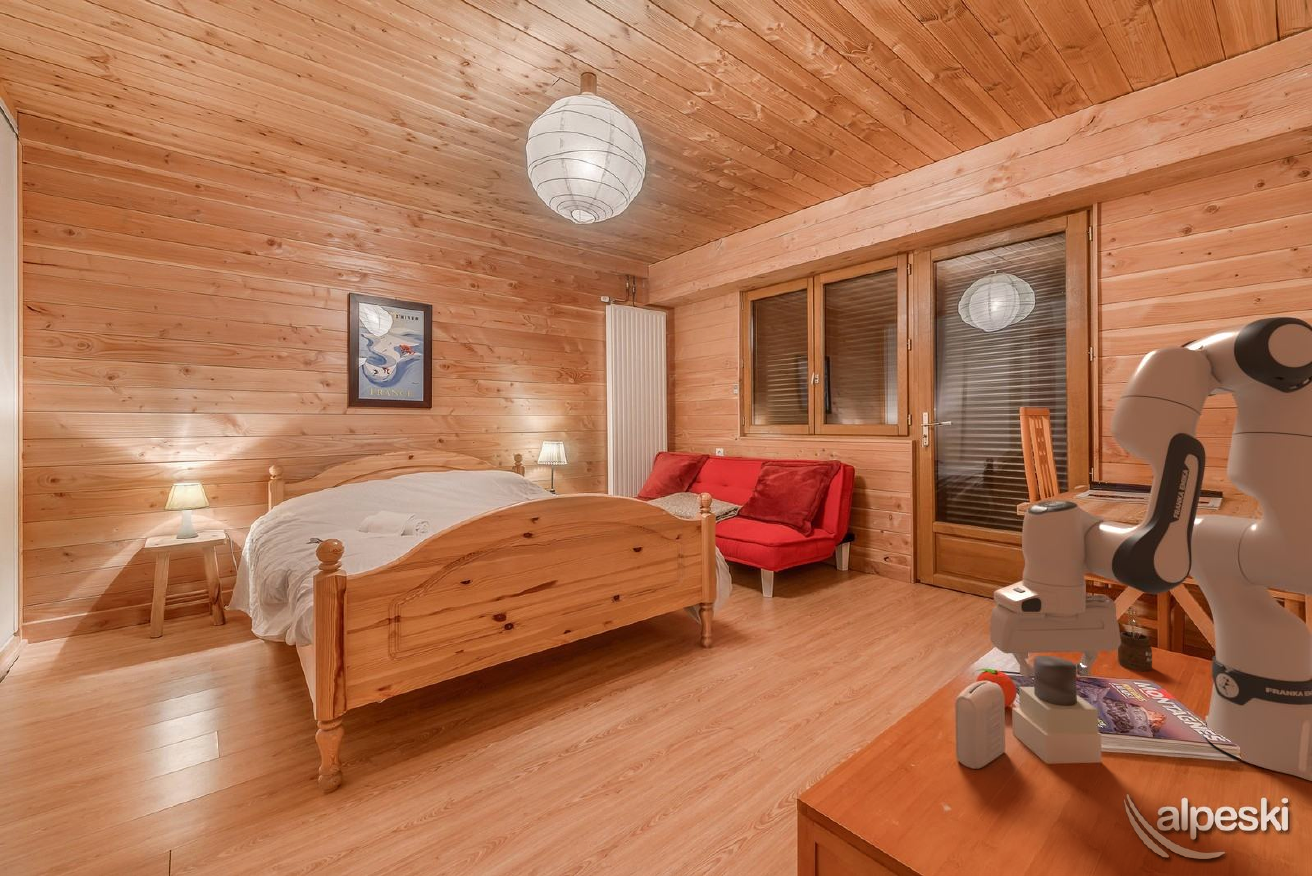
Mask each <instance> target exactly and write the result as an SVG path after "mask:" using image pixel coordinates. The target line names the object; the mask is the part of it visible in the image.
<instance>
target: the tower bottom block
mask: <svg viewBox="0 0 1312 876" xmlns="http://www.w3.org/2000/svg"><path fill="white" fill-rule="evenodd" d="M1011 714H1012V716H1011V717H1012V734H1013V735H1014V736H1015V737H1016V738H1017V739H1018V740H1019V741H1020V742H1021V743H1022V744H1024V745H1025V746H1026V747H1027V748H1029V750H1030V751H1032V752H1033V753H1034V754H1035V755H1037V757H1039V758H1040V759H1041V761H1042V762H1044V763H1045V764H1047V765H1048V764H1086V763H1087V764H1091V763H1092V764H1093V763H1095V764H1097V763H1102V733H1100V732H1099V731H1098V733H1047V732H1046V731H1045V730H1044V729H1043V728H1041V727H1040V726H1039V725H1038V724H1037V723H1036V722H1034V721H1033V720H1032V719H1031V718H1030V717H1028V716H1027V715H1026V714H1025V713H1024V712H1023V711H1022V710H1020V707H1012V708H1011Z"/></svg>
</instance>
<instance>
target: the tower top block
mask: <svg viewBox="0 0 1312 876" xmlns="http://www.w3.org/2000/svg"><path fill="white" fill-rule="evenodd" d="M1018 690H1019V691H1018V694H1019V696H1018V697H1019V700H1018V701H1019V708H1020V710H1022V711H1023V712H1024V713H1025V714H1026V715H1027V716H1028V717H1030V718H1031V719H1032V720H1033V721H1034V722H1036V723H1037V724H1038V725H1039V726H1040V727H1041V728H1043V729H1044V730H1045V731H1046V732H1047V733H1098V732H1099V709H1098V708H1096V707H1095V706H1094V705H1092V704H1091V703H1090V702H1088V701H1087V700H1085V699H1083V698H1082V697H1081V696H1080V695H1078V694H1077V703H1076V704H1075V705H1072V706H1060V705H1054V704H1050V703H1047V702H1045V701H1042V700H1040V699H1039V698H1037V697H1036V696H1035V694H1034V686H1019V687H1018Z"/></svg>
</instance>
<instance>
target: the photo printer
mask: <svg viewBox="0 0 1312 876" xmlns="http://www.w3.org/2000/svg"><path fill="white" fill-rule="evenodd" d="M954 705H955V706H954V709H955V711H954V712H955V713H954V714H955V715H954V717H955V755H956V759H957V760H958V762H959V763H960V764H962V765H963V766H965V767H967V768H969V769H974V770H975V769H976V770H977V769H981V768H983V767H985V766H987V765H988V764H989V763H991V762H992V761H995V759H997V758H998V757H1000V756H1001V755H1003V754H1004V752H1005V750H1006V728H1005V727H1006V719H1005V718H1006V717H1005V716H1006V715H1005V713H1006V712H1005V708H1006V707H1005V702H1004V693H1003V691H1002V689H1001V687H1000V686H999V685H998V684H997V683H992V682H990V681H979V682H976V681H975V682H974V683H972V684H970V685H968V686H966V688H964V689H963V690H961V692H960V693H959V694H958V695H957V698H956V700H955V703H954Z"/></svg>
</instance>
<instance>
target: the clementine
mask: <svg viewBox="0 0 1312 876" xmlns="http://www.w3.org/2000/svg"><path fill="white" fill-rule="evenodd" d="M977 671H983V672H981V673H980V674H979V675H978V677H977V678H976V680H975V683H976V682H979V681H990V682H992V683H997V684H998V685H999V686H1000V687H1001V689H1002V691H1003V693H1004V702H1005V708H1007V707H1010V706H1011V705H1012V704H1013V703H1014V702H1015V700H1016V698H1017V687H1016V685H1015V683H1014V681H1013V679H1012V678H1011V677H1010V676H1009V675H1007V674H1006V673H1004V672H1003V671H1000V670H998V669H991V668H979V669H977V670H974V672H973V673H972V675H974V674H975V673H976V672H977Z"/></svg>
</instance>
